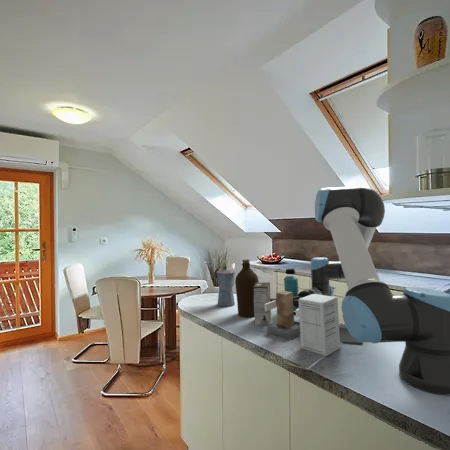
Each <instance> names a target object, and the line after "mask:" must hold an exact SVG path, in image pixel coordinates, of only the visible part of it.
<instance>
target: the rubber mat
mask: <svg viewBox="0 0 450 450" xmlns="http://www.w3.org/2000/svg"><path fill="white" fill-rule="evenodd" d="M339 335H340V343H341V344H349V345H360V344H361V345H363V343H364V342H359V341H357V340H356V339H354V338H353V337H352V336H351V334H350V333H349V331H348V330H347V328H346V327H341V326H339Z"/></svg>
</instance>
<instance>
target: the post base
mask: <svg viewBox="0 0 450 450" xmlns="http://www.w3.org/2000/svg"><path fill="white" fill-rule="evenodd" d="M266 332H267V334H268V335H271V336H275V337H279V338H283V339H286V340H290V341H291V340H292V339H294V338H296V337H297V336H299V335H300V321H295V320H294V325H293V326H291V327H289V328H286V327H281V326H278V324H277V320H276V321H274V322H272V323H270V324H269V325H266Z"/></svg>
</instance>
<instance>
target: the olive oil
mask: <svg viewBox="0 0 450 450" xmlns="http://www.w3.org/2000/svg"><path fill="white" fill-rule="evenodd" d="M241 265H242V268H241V270H240V271H239V272H238V273H237V274H236V277H235V279H234V284H235V293H236V303H237V314H238V316H239V317H241V318H253V317H254V318H255V316H254V295H253V287H254V285H255V283H260V281H259V278H258V275H257V274H256V272H255V271H253V270H252V268H251V263H250V259H242V263H241Z"/></svg>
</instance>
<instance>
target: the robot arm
mask: <svg viewBox="0 0 450 450" xmlns="http://www.w3.org/2000/svg"><path fill="white" fill-rule="evenodd" d="M314 202H315V203H314V218H315V220H316V222H319V223H322V224H323V226H324V228H325V229H326V230H328V231H330V233H331V237H332V240H333V243H334V246H335V250H336V253H337V257H338V259H339V261H329V258H327V257H321V256H320V257H318V256H317V257H313V258H311V260H310V278H311V280H310V281H311V287H309V288H307V289H305V290H302V291H300V292H299V293H298V296H296V297H293V306H297V307H299V299H300V298H303V297H306V296H309V295H311V294H318V295H325V296H332V297H334V294H335V293H334V292H335V291H334V289H333V286H332V285H330V280H340V279H341V280H345V281H346V282H345V283H346V285H347V288H348V289H346V292H345V294H344V298H343V299H342V301H341V312H342V319H343V322H344V325H345V328H347V330H348V331H349V333H350V334H351V336H352V337H353V338H354V339H356V340H357V341H359V342H363V343H371V344H378V343H398V342H399V343H401V342H405V347H404V350H403V353H402V355H401V358H400V361H399V363H398V374H399V375H398V376H399V377H400V378H401V380H402V381H404V383H406V384H407V385H409V386H411V387H414V388H415V389H419V390H421V391H423V392H427V393H431V394H435V395H436V394H437V395H442V396H450V293H448V292H444V291H441V290H437V289H436V290H435V289H430V288H425V287H417V286H416V287H415V286H407V287H404V288H403V290H402V294H393V293H392V291H391V288H390V285H388V284H387V283H386V282H383V281H381V280H380V277H379V275H378V273H377V270H376V267H375V264H374V262H373V260H372V259H373V258H372V257H371V254H370V252H369V247H370V245H371V241H372V240H373V237H374V235H375V233H376V229H377V227H380V226H381V225H382V223H383V221H384V218H385V212H386V210H385V208H386V207H385V203H384V200H383V198H382V197H381V195H380V194H379V193H378V192H377V191H376V190H374V189H373V188H371V187H368V186H364V185H358V186H337V187H331V186H330V187H324V188H323V187H322V188H320V189H318V191H317V193H316V195H315V201H314ZM273 309H274V310H275V309H277V302H276V297H275V298H274V297H273V298H270V302H269V303H266V304H265V311H269V310H271V311H272V310H273ZM295 318H299V309H296V311H295Z"/></svg>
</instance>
